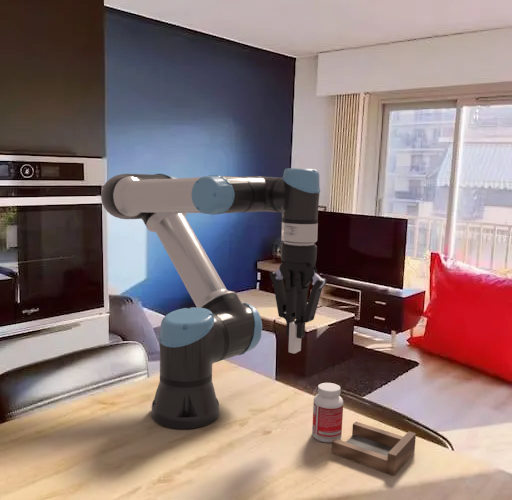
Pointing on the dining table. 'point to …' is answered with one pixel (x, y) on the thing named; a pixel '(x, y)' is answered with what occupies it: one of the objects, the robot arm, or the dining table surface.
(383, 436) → the tray
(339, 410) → the pill bottle
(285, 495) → the dining table surface
